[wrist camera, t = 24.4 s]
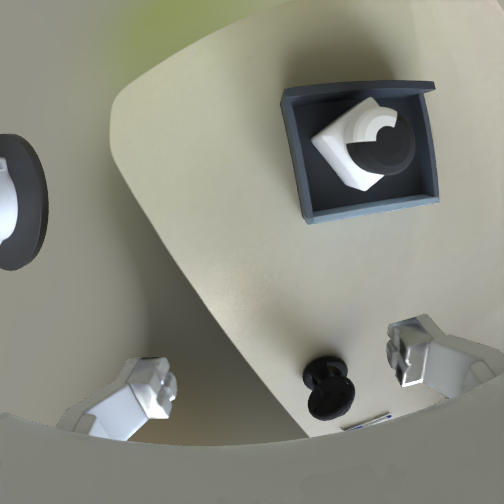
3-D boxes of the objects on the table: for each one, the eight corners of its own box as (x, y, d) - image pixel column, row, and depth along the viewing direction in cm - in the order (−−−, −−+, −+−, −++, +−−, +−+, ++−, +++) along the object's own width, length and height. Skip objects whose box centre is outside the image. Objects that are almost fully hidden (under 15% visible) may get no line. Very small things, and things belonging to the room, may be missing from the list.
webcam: (316, 394, 46) (324, 437, 37) (292, 371, 45) (297, 416, 35) (354, 372, 45) (369, 413, 35) (333, 346, 43) (347, 389, 34)
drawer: (421, 197, 36) (452, 206, 28) (302, 216, 37) (312, 231, 30) (404, 93, 31) (433, 81, 24) (279, 103, 33) (284, 88, 26)
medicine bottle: (386, 152, 32) (437, 152, 21) (345, 186, 34) (383, 199, 23) (352, 106, 31) (391, 84, 20) (308, 139, 33) (331, 129, 21)
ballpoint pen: (343, 433, 50) (344, 437, 49) (342, 431, 50) (343, 435, 49) (390, 415, 48) (392, 418, 47) (390, 413, 48) (391, 416, 47)
